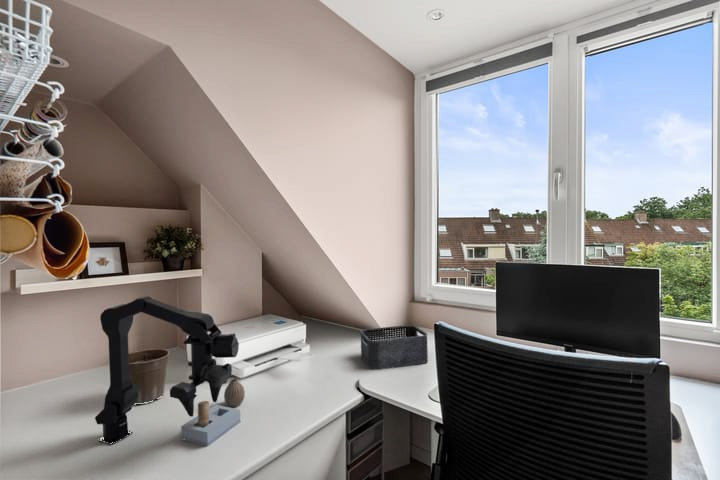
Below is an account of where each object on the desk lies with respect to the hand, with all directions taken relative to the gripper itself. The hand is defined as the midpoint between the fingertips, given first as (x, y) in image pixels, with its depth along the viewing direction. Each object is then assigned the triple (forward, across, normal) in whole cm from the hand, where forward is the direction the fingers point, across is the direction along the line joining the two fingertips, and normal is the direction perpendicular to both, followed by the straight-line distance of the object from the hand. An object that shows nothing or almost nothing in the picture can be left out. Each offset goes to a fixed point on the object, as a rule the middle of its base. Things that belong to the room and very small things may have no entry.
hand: (203, 408), depth 109 cm
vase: (+9, +19, +5) cm, 22 cm away
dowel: (+7, 0, 0) cm, 7 cm away
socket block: (+8, +3, 0) cm, 9 cm away
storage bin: (+9, +81, -36) cm, 89 cm away
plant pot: (+9, +12, +40) cm, 43 cm away
